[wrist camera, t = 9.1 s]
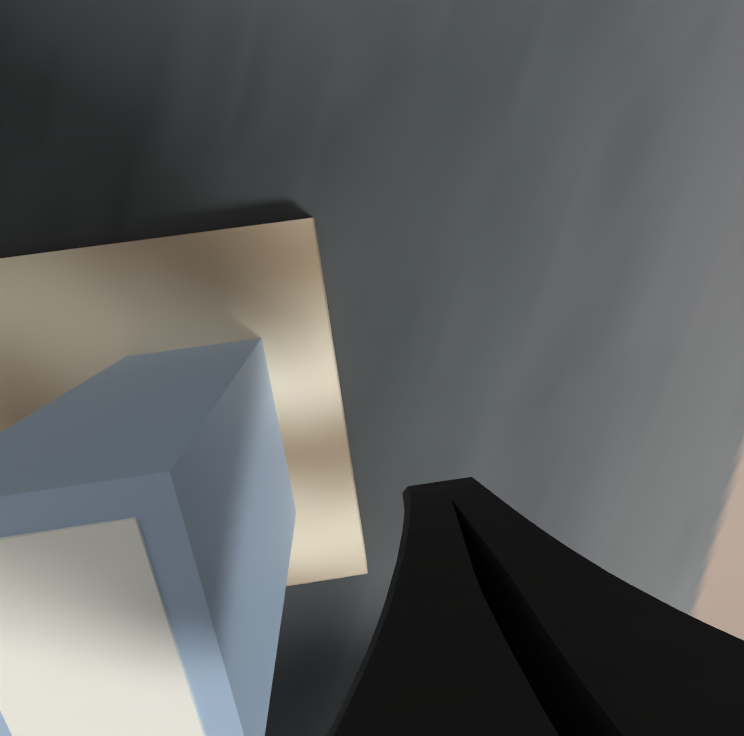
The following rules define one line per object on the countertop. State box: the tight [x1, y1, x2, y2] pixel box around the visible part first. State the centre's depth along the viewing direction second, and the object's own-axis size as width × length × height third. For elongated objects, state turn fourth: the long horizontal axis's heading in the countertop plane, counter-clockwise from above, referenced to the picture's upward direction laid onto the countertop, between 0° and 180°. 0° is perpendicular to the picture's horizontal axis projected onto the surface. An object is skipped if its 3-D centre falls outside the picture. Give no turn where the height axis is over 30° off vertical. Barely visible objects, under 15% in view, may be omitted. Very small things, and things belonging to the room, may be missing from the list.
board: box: [0, 218, 367, 586], centre depth 15 cm, size 12×16×1 cm
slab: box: [0, 338, 296, 736], centre depth 11 cm, size 6×4×8 cm, turn 7°
